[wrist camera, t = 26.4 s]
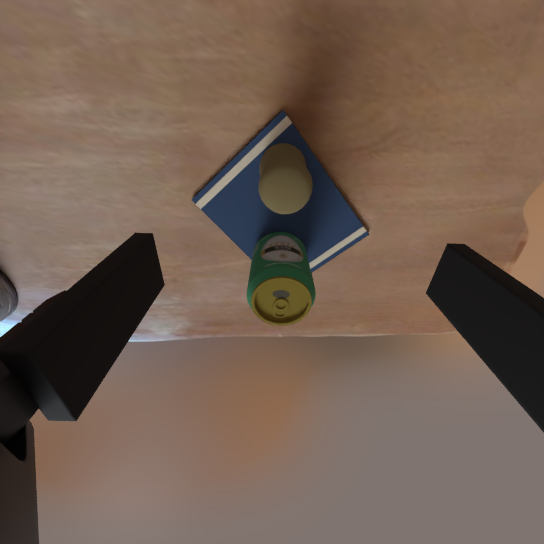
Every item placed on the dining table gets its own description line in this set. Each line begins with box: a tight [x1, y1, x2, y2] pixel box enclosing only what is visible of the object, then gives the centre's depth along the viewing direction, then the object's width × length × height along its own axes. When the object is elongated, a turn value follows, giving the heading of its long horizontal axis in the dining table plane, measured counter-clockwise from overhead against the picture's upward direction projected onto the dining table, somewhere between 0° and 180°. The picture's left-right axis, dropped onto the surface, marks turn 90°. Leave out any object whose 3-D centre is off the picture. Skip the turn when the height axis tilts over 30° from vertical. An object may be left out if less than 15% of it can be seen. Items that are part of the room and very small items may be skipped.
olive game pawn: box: [258, 143, 313, 214], centre depth 28 cm, size 6×6×11 cm
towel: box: [192, 110, 369, 273], centre depth 36 cm, size 20×16×1 cm
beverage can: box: [247, 232, 316, 326], centre depth 34 cm, size 8×8×12 cm
